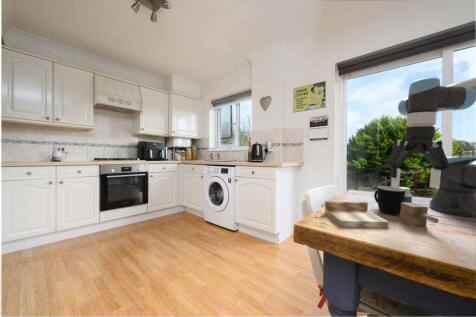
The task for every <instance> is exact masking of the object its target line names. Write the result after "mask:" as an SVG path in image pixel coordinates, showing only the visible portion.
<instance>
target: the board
mask: <svg viewBox="0 0 476 317" xmlns="http://www.w3.org/2000/svg"><path fill="white" fill-rule="evenodd" d="M368 205H369V203H368V202H367V201H341V200H340V201H335V200H334V201H333V200H331V201H330V200H327V201H326V200H325V202H324V214H325V215H326V216H327V217H328V218H330V219H331V220H332V221H333V222H335V224H337V225H338V226H339V227H340V228H389V224H390V221H388V220H386V219H385V218H382V217H381V216H379V215H377V214H376V213H373V212H371V211H369V210H368Z"/></svg>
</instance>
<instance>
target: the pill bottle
mask: <svg viewBox="0 0 476 317" xmlns="http://www.w3.org/2000/svg"><path fill="white" fill-rule="evenodd" d="M399 188H402V189H404V190H405V198H404V203H413V201H412V200H413V195H412V194H411V193H410V192H411V188H410V187H404V186H399Z"/></svg>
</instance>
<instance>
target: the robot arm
mask: <svg viewBox="0 0 476 317" xmlns="http://www.w3.org/2000/svg"><path fill="white" fill-rule="evenodd" d="M475 102H476V76H475V77H471V78H469V79H465V80H463V81H459V82H455V83H451V84H449V85H445V86H443V85H441V80H440V78H438V77H423V78H419V79H415V80H413V81H412V82H411V83H410V85H409V89H408V93H407V97H406V98H403V99H402V100H400V101H399V103H398V105H397V110H398V113H399V114H400V115H401V116H403V117H404V116H405V117H406V122H405V123H406V124H405V125H406V126H407V127H406V128H405V132H404V138H405V140H404V139H397V140H396V141H395V145H394V147H393V149H392V151H391V153H390V154H389V156H388V157H387V159H386V162H384V166H385V167H388V168H389V169H390V170H389V171H390V173H389V178H391V180H390V181H391V182H390V187H395V188H399V187H400V179H401V172H402V171H401V168H399V167H401V165H403V163H404V162H405V161H407V160H408V158H409V157H410V156H411V155H414V154H421V155H423V156H424V158H426V160H427V161H428V162H429V163H430V165H431V166H432V167H433V168H430V176H429V177H430V180H429V188H432V189H435V191H434V193H433V195H432V198H431V200H429V205H428V206H429V207H428V208H430V209H432V210H435V211H438V212H441V213H446V214H450V215H455V216H461V217H473V218H474V217H476V156H473V155H472V156H471V155H469V156H468V155H467V156H446V154H445V151H444V148H443V141H442V140H433V138H435V135H436V127H435V125H436V124H437V115H438V112H444V111H462V110H463V111H464V110H466V109H468V108H470V107H472V106H473V105H474V104H475Z"/></svg>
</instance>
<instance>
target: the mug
mask: <svg viewBox="0 0 476 317" xmlns="http://www.w3.org/2000/svg"><path fill="white" fill-rule="evenodd" d="M373 195H374V196H373V197H374V200H375V201H376V203H377V206H378V210H379V212H380V213H382V214H384V215H391V216H399V215H400V212H401V203H404V198H405V190H404V189H402V188H395V187H392V186H391V185H389V186H387V185H382V186H381V185H379V186H377V190H375V192H374V194H373Z"/></svg>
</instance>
